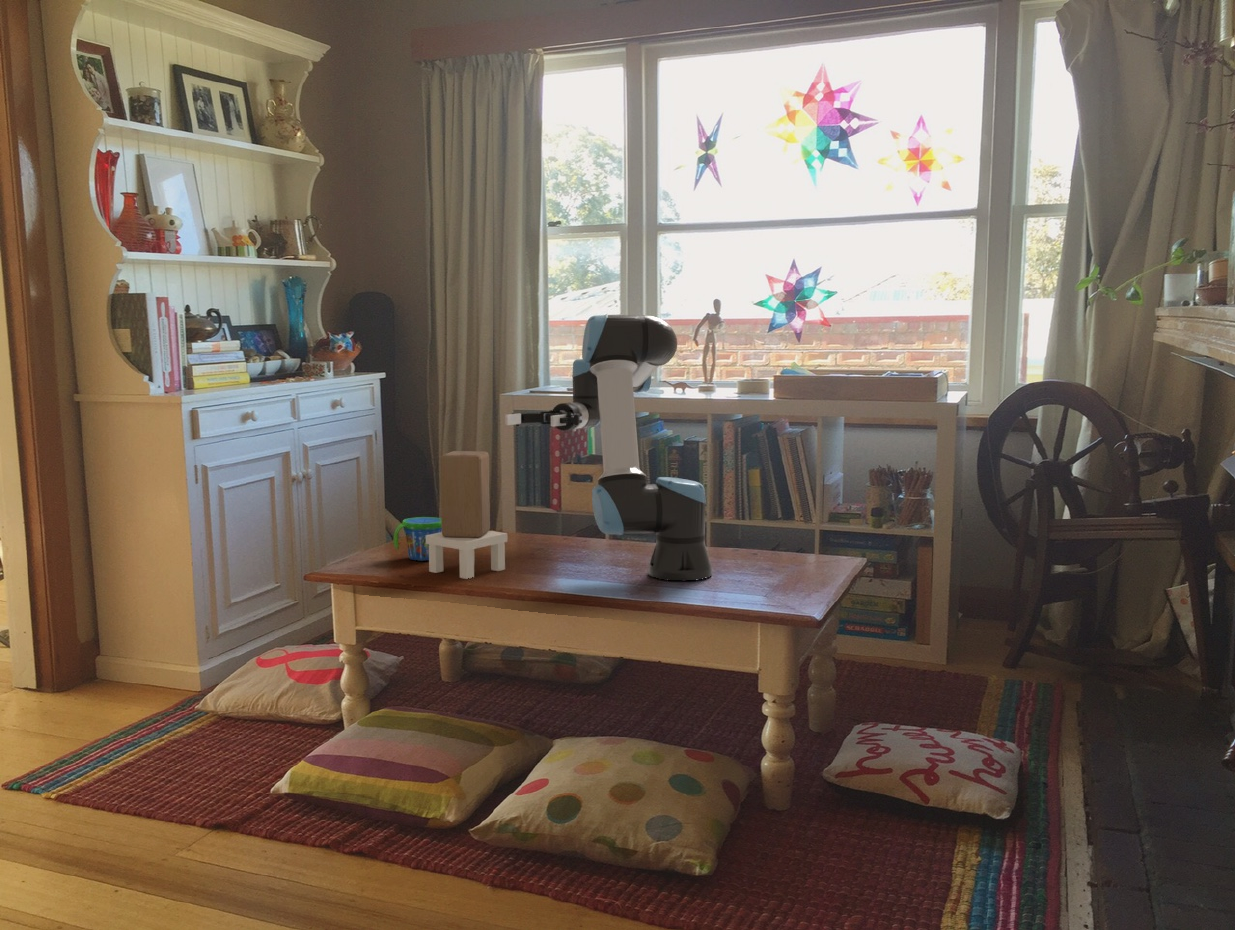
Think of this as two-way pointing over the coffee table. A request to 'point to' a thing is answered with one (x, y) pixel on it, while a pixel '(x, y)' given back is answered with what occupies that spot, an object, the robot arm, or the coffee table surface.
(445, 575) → the coffee table surface
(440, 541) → the footstool
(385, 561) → the coffee table surface
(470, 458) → the block
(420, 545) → the snack cup
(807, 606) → the coffee table surface
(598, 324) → the robot arm
